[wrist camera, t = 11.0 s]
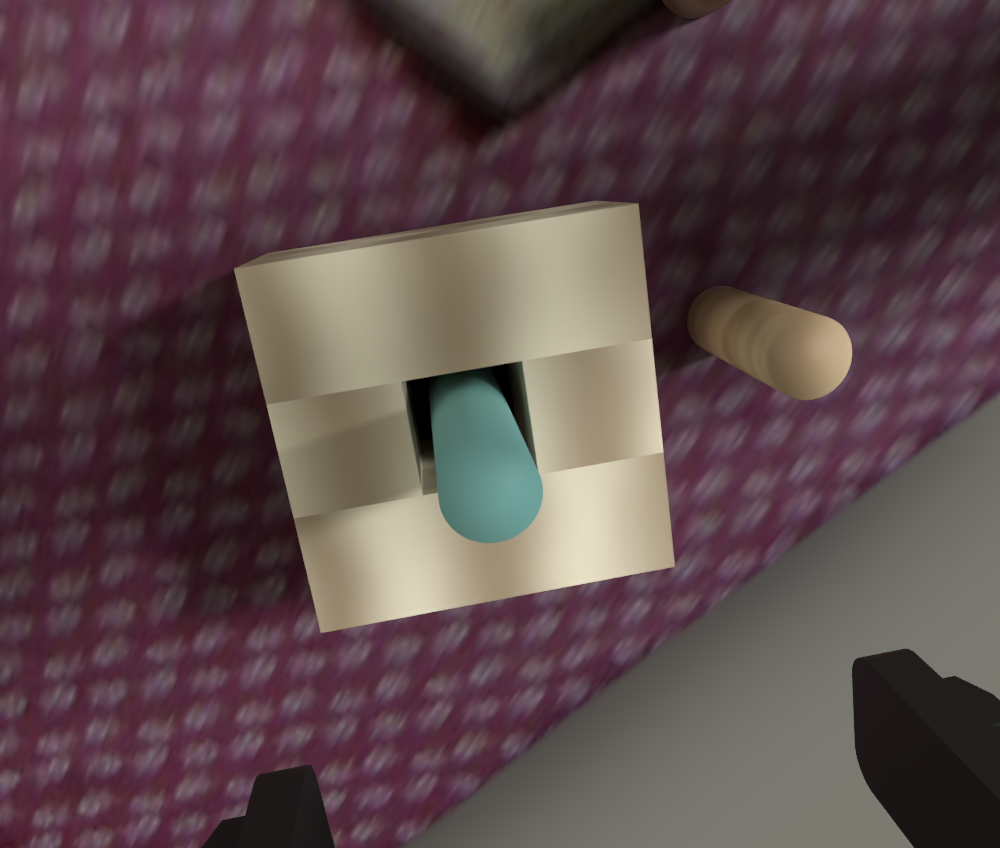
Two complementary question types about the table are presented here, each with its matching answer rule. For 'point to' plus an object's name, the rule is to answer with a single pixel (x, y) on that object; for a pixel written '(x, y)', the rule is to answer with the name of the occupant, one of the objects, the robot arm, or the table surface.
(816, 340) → the medium pin
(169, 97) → the table surface
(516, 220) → the hole block
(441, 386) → the long pin
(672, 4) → the short pin
